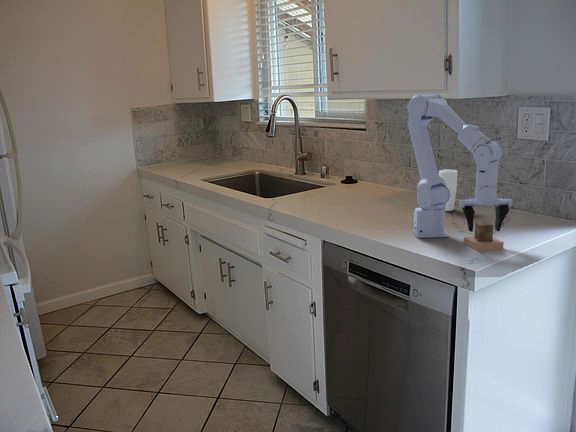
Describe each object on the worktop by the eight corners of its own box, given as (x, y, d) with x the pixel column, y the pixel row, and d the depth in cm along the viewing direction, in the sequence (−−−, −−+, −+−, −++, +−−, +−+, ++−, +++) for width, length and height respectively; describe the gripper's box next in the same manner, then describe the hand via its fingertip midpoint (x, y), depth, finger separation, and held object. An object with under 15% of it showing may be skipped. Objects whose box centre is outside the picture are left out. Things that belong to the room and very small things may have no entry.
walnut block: (478, 241, 150) (479, 225, 149) (474, 237, 154) (475, 221, 152) (492, 241, 150) (493, 225, 148) (488, 237, 153) (489, 221, 152)
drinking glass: (452, 207, 199) (454, 168, 195) (458, 211, 193) (460, 171, 189) (435, 208, 199) (436, 169, 195) (440, 212, 192) (442, 172, 189)
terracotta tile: (477, 253, 148) (477, 244, 147) (463, 245, 156) (464, 237, 155) (503, 250, 149) (503, 242, 148) (488, 242, 157) (488, 234, 156)
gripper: (464, 188, 144) (462, 234, 148) (517, 186, 143) (514, 233, 147) (457, 183, 151) (456, 228, 155) (508, 182, 150) (505, 227, 154)
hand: (483, 230), depth 151 cm, fingers open, 7 cm apart
